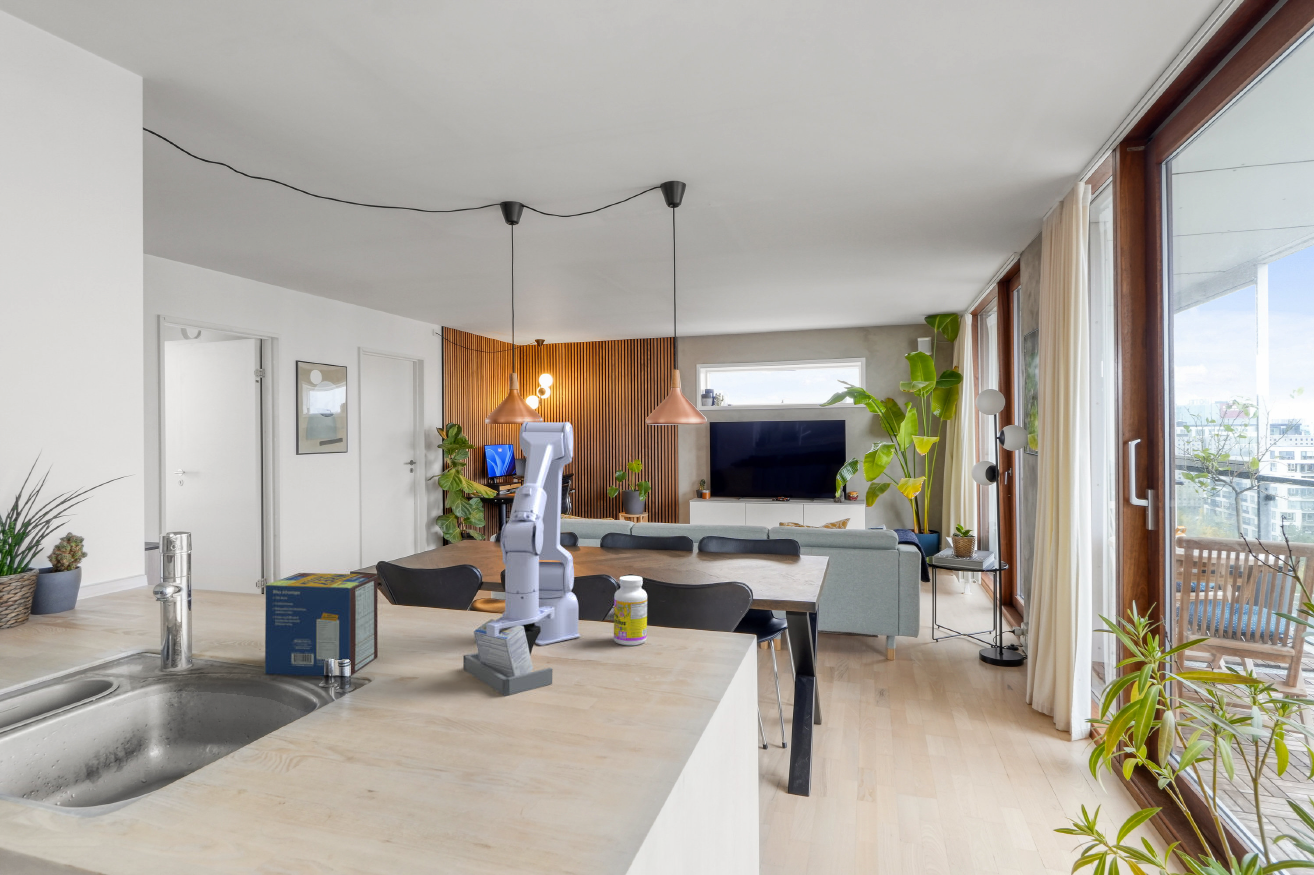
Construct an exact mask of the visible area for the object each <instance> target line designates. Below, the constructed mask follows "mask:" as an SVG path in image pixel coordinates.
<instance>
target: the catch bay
mask: <svg viewBox="0 0 1314 875" xmlns="http://www.w3.org/2000/svg"><path fill="white" fill-rule="evenodd" d="M462 659H463V661H462V664H463V666H462V667H463V668H462V670H463V671H464V672H465V673H466V672H467V674H469V675H471V676H472V677H474V678H475V679H477V680H479V681H480V682H482V683H483V684H485V685H487V686H488V687H489V688H491V689H493V690H494V691H496V692H498V693H499V694H501V695H502V696H504V697H507V696H510V695H515V694H518V693H523V692H526V691H531V690H534V689H539V688H542V687H546V686H550V685H553V668H551V667H547V668H543V669H539V670H534V671H531V672H529V673H526V674H522V675H517V676H513V677H509V678H506V677H505V676H503V675H501V674H500V673H498V672H496V671H495V670H493V669H491V668H490V667H488V666H486V665H484V664H483V663H481V662H480V657H479V653H478V652H474V653H469V654H464V655H463V658H462Z"/></svg>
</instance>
